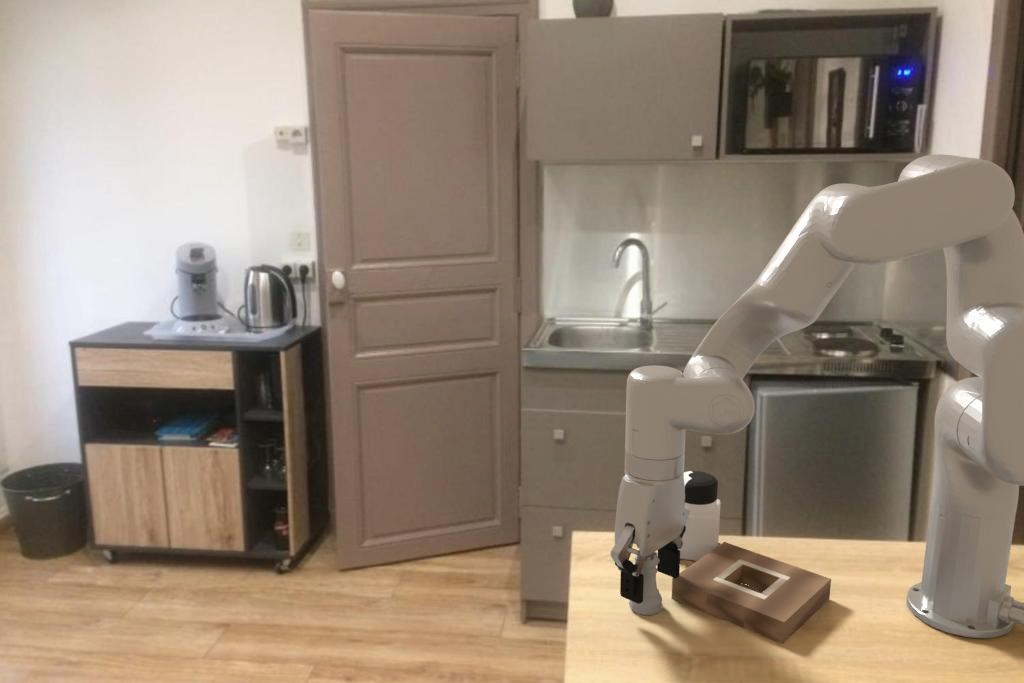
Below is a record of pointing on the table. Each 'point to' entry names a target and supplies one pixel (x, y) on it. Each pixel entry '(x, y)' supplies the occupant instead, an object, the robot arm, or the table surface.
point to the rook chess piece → (649, 588)
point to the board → (764, 613)
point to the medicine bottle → (700, 515)
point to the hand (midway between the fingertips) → (650, 585)
